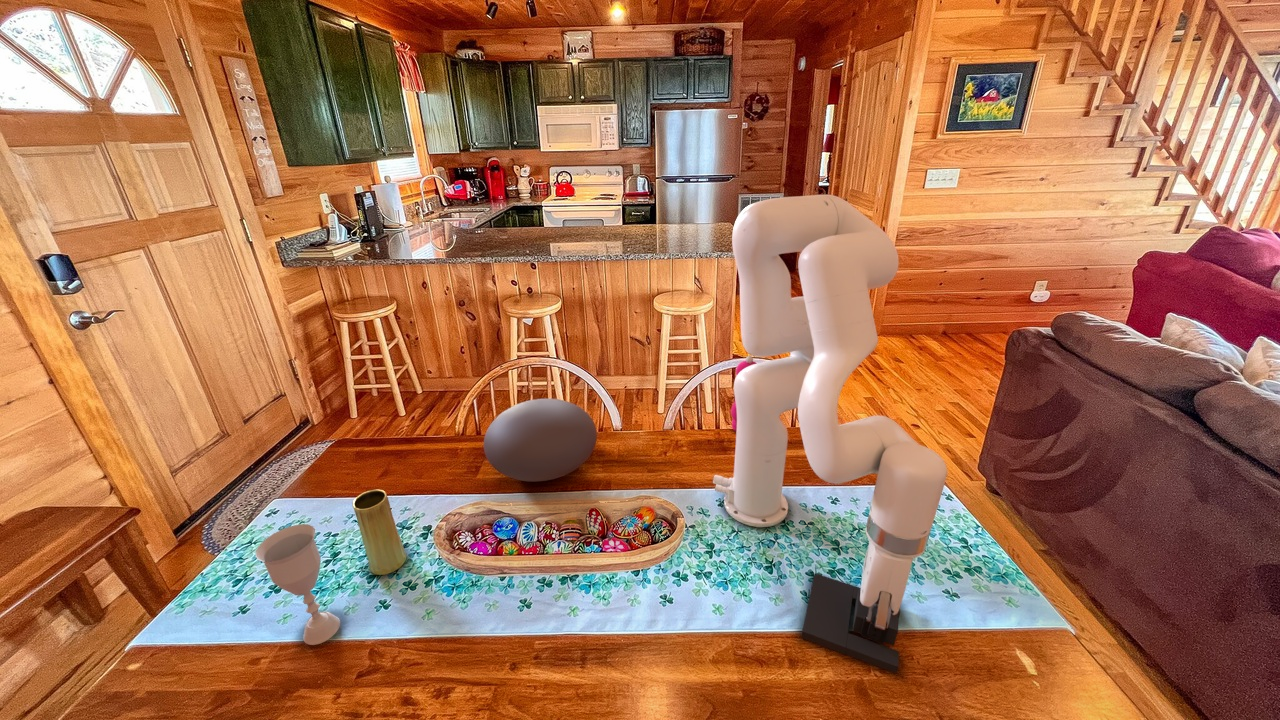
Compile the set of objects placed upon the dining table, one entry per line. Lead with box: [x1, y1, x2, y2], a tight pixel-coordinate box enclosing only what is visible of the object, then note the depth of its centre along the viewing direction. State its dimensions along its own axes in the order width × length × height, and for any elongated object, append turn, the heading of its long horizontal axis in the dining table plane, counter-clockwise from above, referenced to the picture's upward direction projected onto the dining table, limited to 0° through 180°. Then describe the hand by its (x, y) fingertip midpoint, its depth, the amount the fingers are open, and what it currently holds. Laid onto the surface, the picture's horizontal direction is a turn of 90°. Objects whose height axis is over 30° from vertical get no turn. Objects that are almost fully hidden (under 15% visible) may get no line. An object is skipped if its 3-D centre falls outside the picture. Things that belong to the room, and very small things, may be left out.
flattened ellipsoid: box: [483, 398, 598, 483], centre depth 114 cm, size 25×25×15 cm
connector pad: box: [852, 587, 900, 646], centre depth 76 cm, size 6×6×3 cm
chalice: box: [254, 523, 341, 646], centre depth 75 cm, size 7×7×18 cm
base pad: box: [800, 572, 901, 675], centre depth 78 cm, size 13×12×2 cm
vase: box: [352, 489, 408, 576], centre depth 88 cm, size 6×6×14 cm
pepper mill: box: [730, 355, 758, 432], centre depth 125 cm, size 7×7×20 cm
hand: (873, 620), depth 77 cm, fingers closed on connector pad, 5 cm apart
